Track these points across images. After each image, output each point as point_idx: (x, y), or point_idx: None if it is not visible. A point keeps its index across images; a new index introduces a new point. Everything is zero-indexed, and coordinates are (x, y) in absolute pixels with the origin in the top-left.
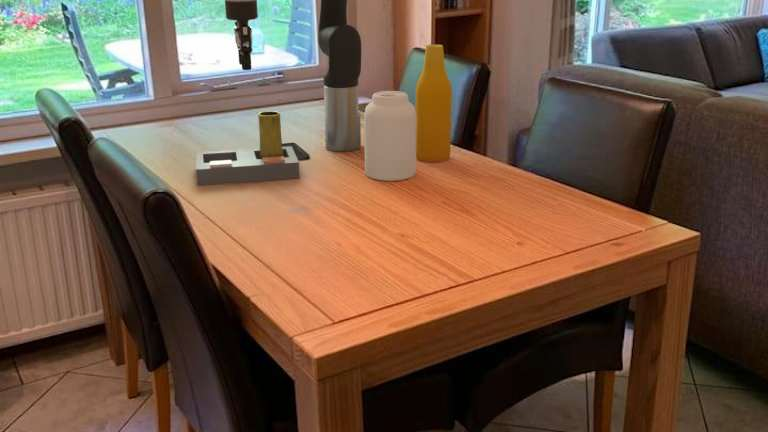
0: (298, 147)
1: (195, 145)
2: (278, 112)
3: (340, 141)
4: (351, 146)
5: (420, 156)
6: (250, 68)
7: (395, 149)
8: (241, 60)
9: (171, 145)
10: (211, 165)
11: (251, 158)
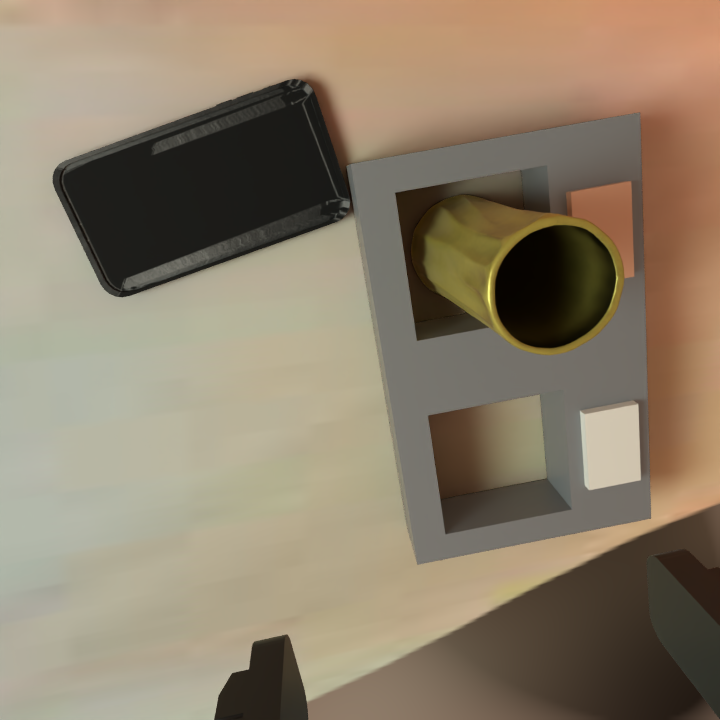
0: (138, 143)
1: (87, 595)
2: (541, 225)
3: None
4: None
5: None
6: (687, 558)
7: None
8: (716, 713)
9: (92, 675)
10: (638, 474)
11: None
